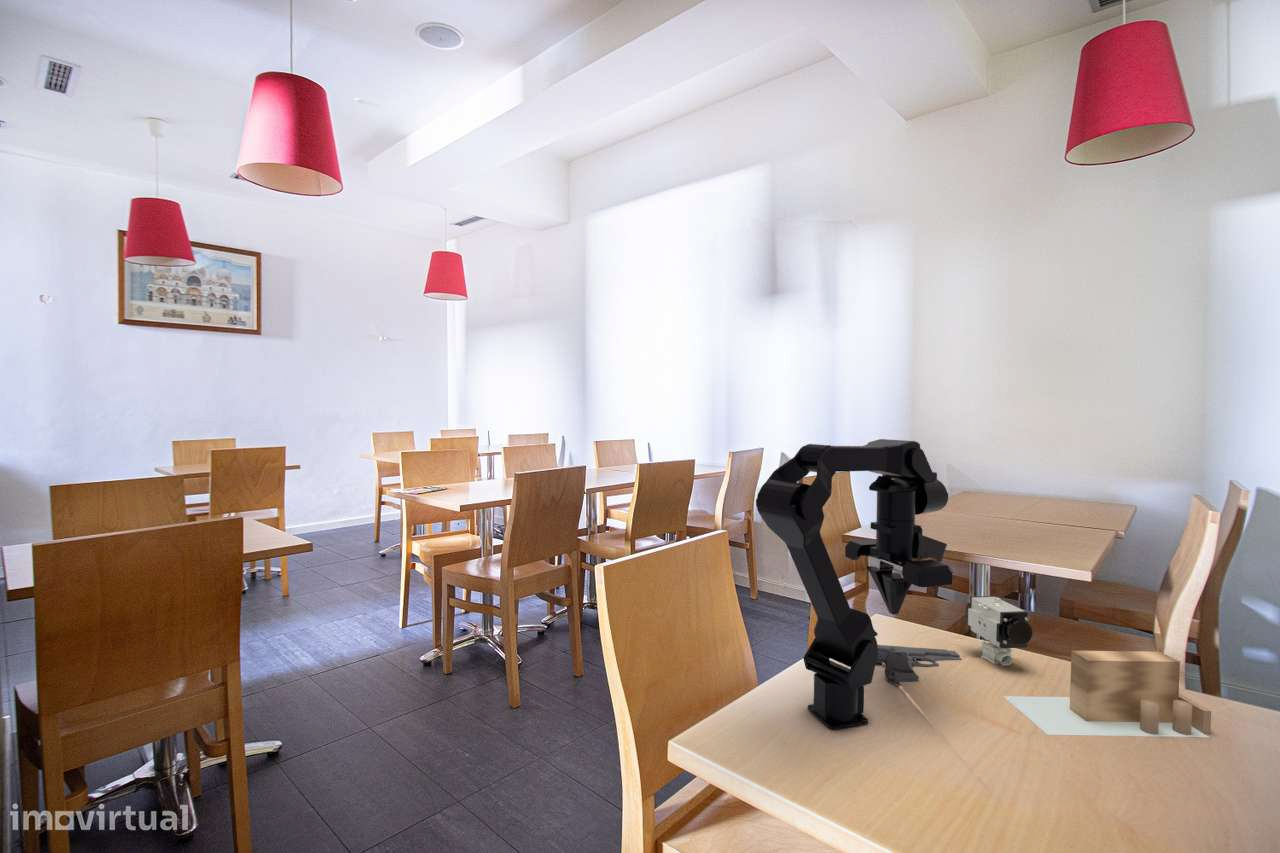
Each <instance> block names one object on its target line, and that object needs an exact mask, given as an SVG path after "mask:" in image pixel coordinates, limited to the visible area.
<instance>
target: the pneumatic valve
mask: <svg viewBox="0 0 1280 853" xmlns="http://www.w3.org/2000/svg"><path fill="white" fill-rule="evenodd" d="M965 606H966V607H965V624H966V625H968V630H970V631H972V632H973V633H975V634H976V635H978V636H980V637H982V638H983V639H984V640H985V641H982V642H981V648H980V650H981V652H982V655H981V658H982V659H985V660H987V661H989V662H990V663H992V664H993V665H994V664H995V665H1001V666H1003V667H1008V666H1009V667H1010V665H1011V664H1012V663H1013V658H1012V655H1011V654H1012V653H1013V650H1012V649H1018V648H1020V649H1023V648H1028V643H1030V641H1031V639H1032V637H1033V628H1032V626H1031V624H1030V623H1029V617H1028V616H1029V612H1028V611H1026V610H1024V609H1022V608H1020V607H1017V606H1015V605H1013V604H1011V603H1009V602H1007V601H1004V600H1003V599H1002V598H1000V597H998V596H994V595H981V596H979V595H978V596H974V595H973V596H969V602H967V604H966V605H965ZM987 641H988V642H987Z"/></svg>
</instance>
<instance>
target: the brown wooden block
mask: <svg viewBox="0 0 1280 853" xmlns="http://www.w3.org/2000/svg"><path fill="white" fill-rule="evenodd" d="M1070 658H1071V660H1070V684H1069V686H1070V687H1069V688H1070V691H1069V697H1070V710H1072V711H1073V712H1074V713H1076V714H1077V715H1078V716H1080V717H1081V718H1082V719H1084V720H1085V721H1096V722H1140V711H1141V700H1142V699H1147V700H1151V701H1154V702H1157V703H1158V704H1159V722H1163V723H1173V701H1174V700H1178V699H1179V693H1180V669H1181V668H1180V667H1181V661H1179V660H1178V659H1175V658H1174V657H1171V656H1170V655H1167V654H1166V653H1163V652H1162V651H1148V650H1147V651H1143V650H1142V651H1139V650H1137V651H1135V650H1134V651H1133V650H1132V651H1131V650H1130V651H1129V650H1127V651H1125V650H1071V654H1070Z"/></svg>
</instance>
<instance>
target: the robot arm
mask: <svg viewBox="0 0 1280 853" xmlns="http://www.w3.org/2000/svg"><path fill="white" fill-rule="evenodd" d="M927 458H928V457H927V456H926V453H925V452H924V450H923V449H922V448H921V444H920V442H918V441H916V440H904V439H902V440H901V439H900V440H899V439H886V438H881V439H880V438H879V439H876V440H872V441H869V442H867V443H866V444H864V445H831V444H829V445H828V444H820V443H819V444H816V443H808V444H807V443H806V445H802V446H801V447H800V449H798V451H797V453H796V454H795V455H794V456H793V457H792V458H791V459H789V460H787V461H786V462H785V463H783V464H782V465H780V466H779V467H778V468H776V469H775V470H774V471H773V472H772V473H771V474H770V476H769V477H768V479H767V480H766V481H765V482H764V484H763V485H762V486H761V487H760V489H759V491H758V493H757V498H756V499H755V506H756V510H757V512H758V514H759V515H760V517H761V518H762V520H763V521H764V523H765V524H766V526H767V527H768V528H769V530H771V531H772V532H773V533H774V534H775V535H776V536H777V537H778V538H780V540H782V541H783V542H784V543H785V545H786V547H787V550H788V552H789V555H790V557H791V559H792V561H793V563H794V566H795V568H796V571H797V573H798V576H799V578H800V580H801V582H802V584H803V587H804V589H805V592H806V594H807V596H808V598H809V601H810V603H811V606H812V607H813V611H814V612H815V615H816V618H817V620H816V623H815V626H814V628H813V633H814V639H813V640H812V642H811V644H810V646H809V648H808V649H807V650H806V652H805V654H804V656H803V658H802V659H803V663H804V667H805V669H806V670H807V671H811V672H813V673H814V674H813V703H812V704H808V705H807V710H808V711H809V712H811V714H813V715H814V716H815V717H816V718H817V720H820V721H821V723H823V725H825V726H826V727H827V728H829V730H839V729H843V728H849V727H855V726H861V725H862V726H863V725H866V724H869V719H868V718H867V717H866V716H865V715H863V713H864V711H865V710H864V709H865V708H864V707H865V686H867V685H869V684H871V683H872V682H873V679H874V674H875V668H876V665H877V664H876V663H877V662H876V661H877V656H878V645H879V644H878V641H877V638H876V637H878V635H879V633H878V632H877V631H876V630H875V629H874V628H875V627H874V626H873V623H872V622H873V621H872V618H871V616H870V615H869V614H868V613H867V612H863V611H860V610H857V609H855V608H852V607H851V606H850V604H849V602H848V600H847V597H846V594H845V592H844V589H843V587H842V584H841V582H840V579H839V577H838V575H837V572H836V570H835V567H834V564H833V562H832V559H831V558H830V555H829V552H828V550H827V547H826V545H825V543H824V541H823V540H824V539H823V538H822V535H821V529H822V526H823V523H824V520H825V514H824V509H823V508H824V506H825V505H826V503H827V502H828V500H829V499H830V497H831V496H832V486H833V485H832V484H833V481H832V480H833V477H834V475H836V473H837V472H839V473H840V472H842V473H843V472H870V473H874V474H879V475H878V476H877V478H876V480H874V481H872V482H871V484H870V485H869V487H868V489H869V491H872V492H876V516H875V517H876V520H875V521H871V522H870V530H871V529H872V530H875V533H876V536H875V539H872V538H871V539H870V538H869V539H868V538H867V539H857V540H856V539H855V540H854V539H853V540H849V541H848V542H847V544H846V545H845V548H844V549H845V550H844V552H845V557H846V558H847V559H850V560H853V561H858V560H859V559H860V557H863V556H865V557H867V558H869V565H867V566H866V567H865V570H866V572H867V571H868V573H869V574H870V576H871V578H872V580H873V581H874V583H875V586H876V588H877V589H878V591H879V594H880V596H881V597H882V600H883V603H884V604H885V606H886V608H887V610H888V613H889V614H891V615H894V616H895V615H898V614H899V613H900V611H901V607H902V606H903V603H904V601H905V599H906V597H907V594H908V592H909V590H910V588H911V586H912V585H914V586H915V587H919V588H930V587H940V586H950V585H953V578H954V576H953V575H954V574H953V569H952V568H951V567H950V566H949V565H948V564H946V563H942V562H943V559H944V555H945V553H946V549H947V545H948V543H945V542H943V541H939V540H936V539H934V538H931V537H928V536H925V535H923V528H922V526H921V525H919V524H916V515H917V516H918V515H922V514H923V515H924V514H927V513H934V512H939V511H941V510H943V509H944V508H945V507H946V506H947V504H948V502H949V493H948V490H947V487H946V486H945V485H944V484H943V483H942V481H940V480H939V479H938V473H937V472H936V471H933V470H932V468H931V466H930V463H929V461H928V459H927ZM810 472H811V473H816V477H815V478H814V480H813V482H812V483H811V484H807V483H801V482H799V481H801V480H802V479H804V478H805V477H806V476H808V475H809V473H810ZM925 558H927V559H925ZM929 558H930V559H929ZM914 559H916V560H914ZM830 659H831V660H830ZM832 660H833V661H832ZM835 661H836V662H835ZM839 663H840V664H839ZM846 666H847V667H846ZM848 667H849V668H848Z"/></svg>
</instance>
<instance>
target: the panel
mask: <svg viewBox="0 0 1280 853" xmlns="http://www.w3.org/2000/svg"><path fill="white" fill-rule="evenodd" d="M1002 697H1003V698H1004V699H1006V701H1008V703H1010V704H1011V705H1013V706H1014V707H1015V708H1016V709H1017V710H1018V711H1019V712H1020V713H1021V714H1022V715H1024V716H1025V717H1026V718H1027V719H1028V720H1029V721H1031V722H1032V723H1033V724H1034V725H1036V726H1037V727H1038V728H1039V729H1040V730H1041V731H1042V732H1044V733H1045V734H1046V735H1047V736H1085V737H1086V736H1087V737H1088V736H1091V737H1093V736H1094V737H1144V738H1145V737H1146V738H1149V737H1154V738H1156V737H1157V738H1159V737H1161V738H1203V739H1204V738H1209V739H1210V736H1208V735H1209V734H1211V729H1212V728H1211V727H1212V726H1211V725H1212V710H1211V709H1208V708H1207V707H1205V706H1203V705H1201V704H1200V703H1198V702H1196V701H1194V700H1193V699H1190V698H1189V697H1187V696H1186V695H1183V694H1182V693H1180V692H1179V699H1178V700H1174V701H1173V723H1163V722H1159V704H1158V703H1157V702H1154V701H1151V700H1147V699H1142V700H1141V711H1140V722H1096V721H1085V720H1084V719H1082V718H1081V717H1080V716H1078V715H1077V714H1076V713H1074V712H1073V711H1072V710H1070V696H1017V695H1016V696H1014V695H1013V696H1012V695H1009V696H1008V695H1007V696H1006V695H1003V696H1002ZM1207 734H1208V735H1207Z"/></svg>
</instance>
